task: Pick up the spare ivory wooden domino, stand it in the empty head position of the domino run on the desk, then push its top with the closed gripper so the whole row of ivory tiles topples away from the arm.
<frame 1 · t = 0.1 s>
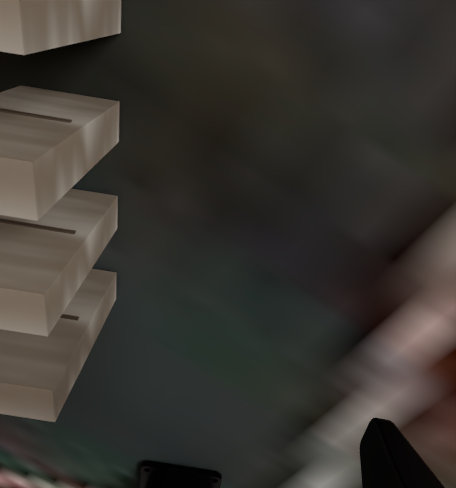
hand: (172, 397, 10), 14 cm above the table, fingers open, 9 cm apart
domino 3: (74, 205, 24), on the table
domino 2: (77, 279, 26), on the table
domino 4: (70, 114, 21), on the table
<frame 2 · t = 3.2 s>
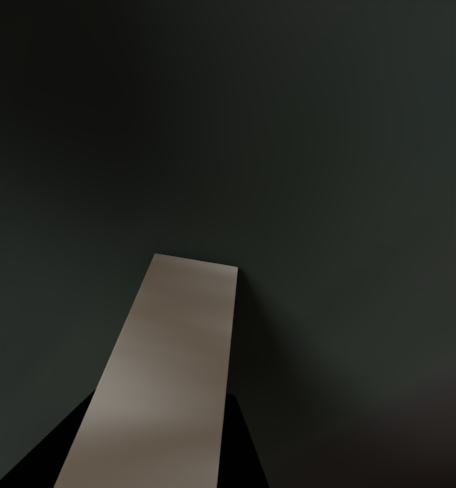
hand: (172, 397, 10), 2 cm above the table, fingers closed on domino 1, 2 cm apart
domino 1: (186, 336, 11), on the table, touching gripper
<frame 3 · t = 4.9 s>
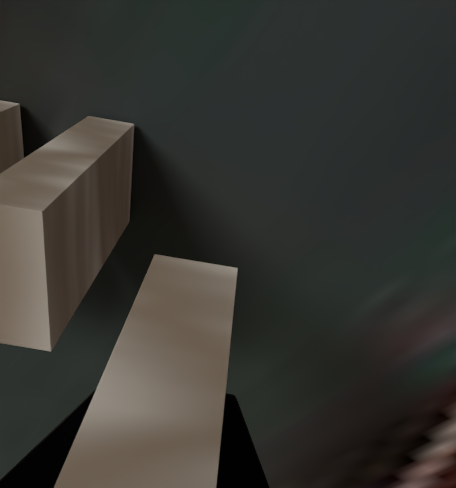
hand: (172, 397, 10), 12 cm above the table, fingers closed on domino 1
domino 3: (2, 153, 20), on the table
domino 2: (110, 171, 20), on the table
domino 1: (185, 336, 11), point 10 cm above the table, touching gripper
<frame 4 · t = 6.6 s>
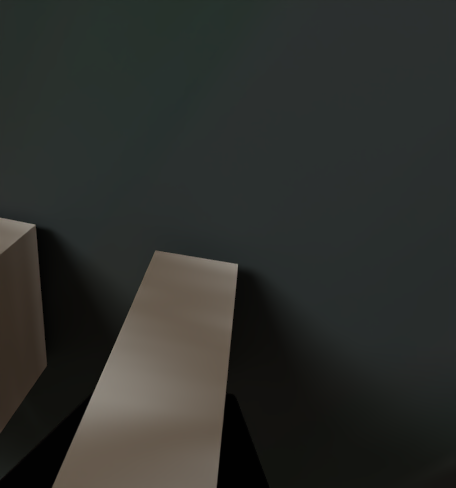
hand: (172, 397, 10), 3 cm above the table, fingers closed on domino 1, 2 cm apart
domino 2: (6, 294, 12), on the table, touching gripper
domino 1: (186, 333, 11), on the table, touching gripper
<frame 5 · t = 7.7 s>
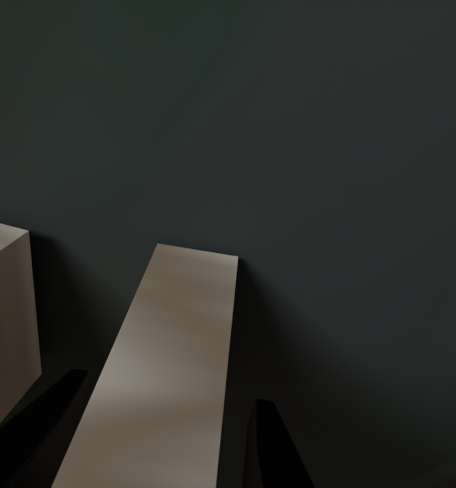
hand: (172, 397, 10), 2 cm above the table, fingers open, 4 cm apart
domino 2: (2, 300, 12), on the table, tilted 9°, touching gripper
domino 1: (188, 325, 12), on the table
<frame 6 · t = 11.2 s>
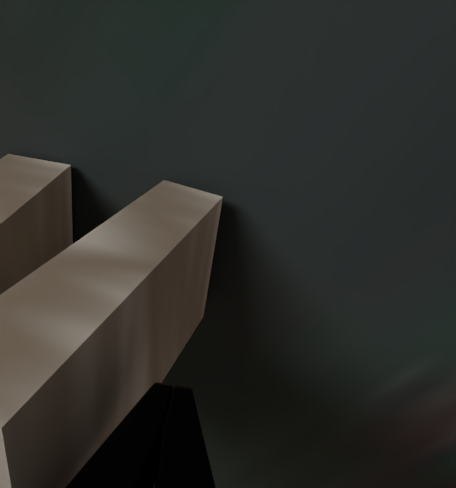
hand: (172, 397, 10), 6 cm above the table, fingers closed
domino 2: (43, 225, 15), on the table
domino 1: (185, 253, 15), on the table, tilted 14°
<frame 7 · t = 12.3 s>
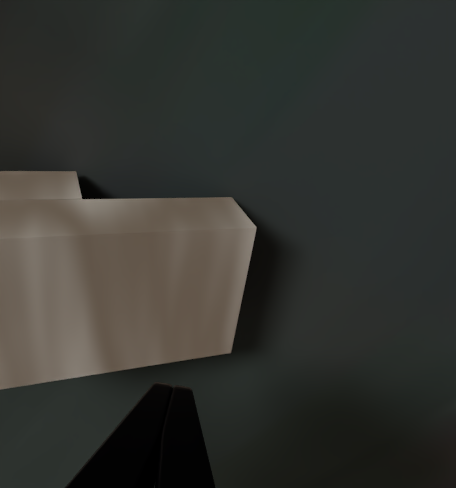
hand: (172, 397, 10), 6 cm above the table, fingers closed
domino 2: (80, 252, 14), point 1 cm above the table, tilted 65°, touching domino 1
domino 1: (231, 277, 14), point 1 cm above the table, tilted 66°, touching domino 2
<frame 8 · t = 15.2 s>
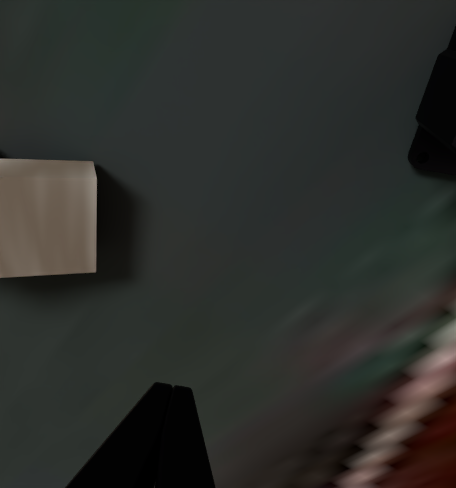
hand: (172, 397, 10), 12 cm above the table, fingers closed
domino 1: (94, 217, 20), point 1 cm above the table, tilted 66°, touching domino 2
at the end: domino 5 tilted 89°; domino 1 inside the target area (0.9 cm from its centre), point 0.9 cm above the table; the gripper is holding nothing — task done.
